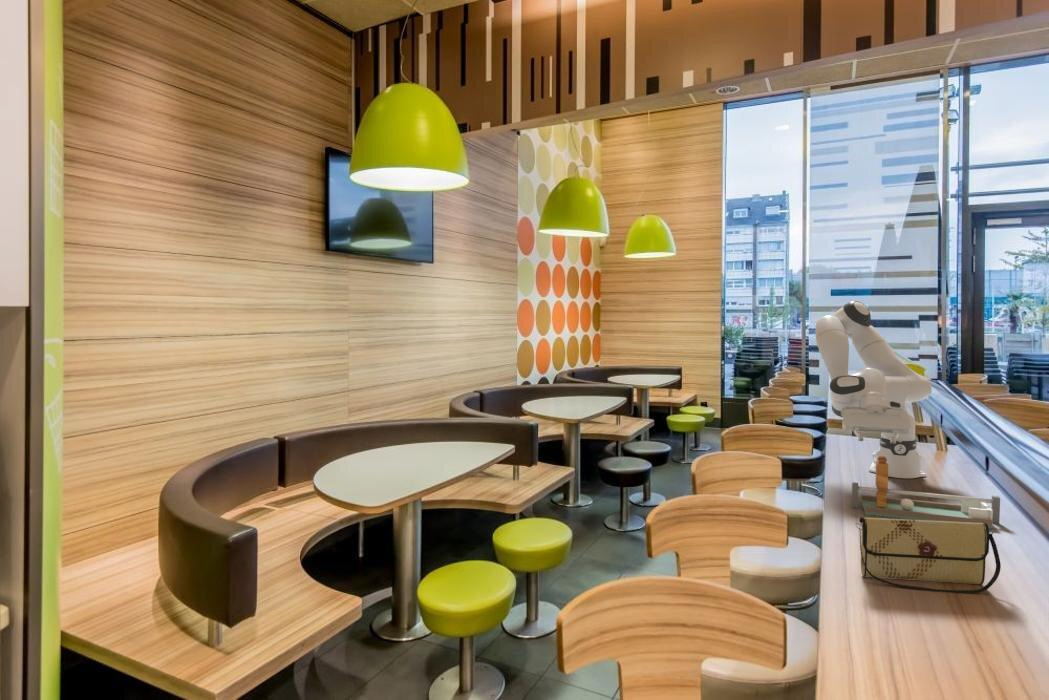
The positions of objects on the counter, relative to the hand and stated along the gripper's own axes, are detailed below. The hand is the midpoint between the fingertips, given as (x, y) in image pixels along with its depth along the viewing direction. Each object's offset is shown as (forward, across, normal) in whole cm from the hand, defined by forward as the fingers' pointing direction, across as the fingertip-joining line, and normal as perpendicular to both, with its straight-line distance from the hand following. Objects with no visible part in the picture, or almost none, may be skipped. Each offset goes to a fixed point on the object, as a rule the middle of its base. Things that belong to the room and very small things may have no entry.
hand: (876, 441), depth 194 cm
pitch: (+22, +12, +7) cm, 26 cm away
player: (+21, 0, +6) cm, 22 cm away
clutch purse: (+60, +4, -31) cm, 68 cm away
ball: (+20, +8, +5) cm, 22 cm away
